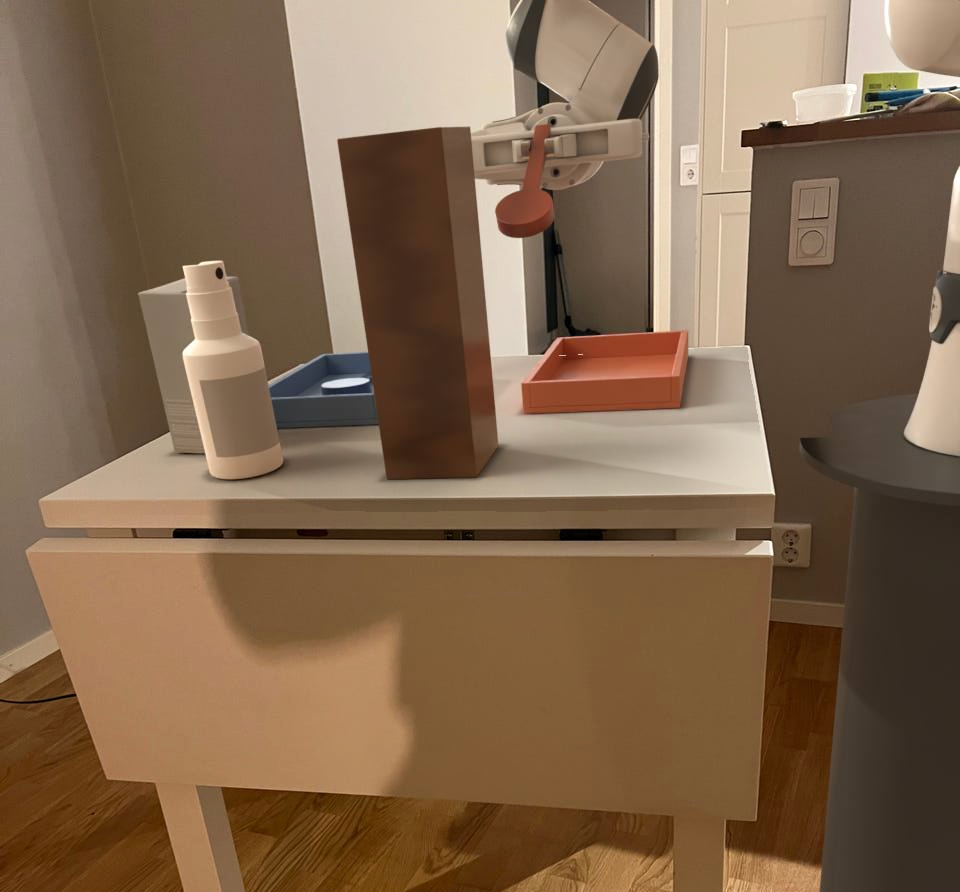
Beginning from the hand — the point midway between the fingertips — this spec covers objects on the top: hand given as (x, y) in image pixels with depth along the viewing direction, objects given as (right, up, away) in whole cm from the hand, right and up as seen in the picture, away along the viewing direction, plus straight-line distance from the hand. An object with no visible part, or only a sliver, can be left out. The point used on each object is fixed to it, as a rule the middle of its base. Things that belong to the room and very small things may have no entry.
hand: (537, 148), depth 97 cm
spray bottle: (-27, -34, -8) cm, 45 cm away
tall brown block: (-9, -34, -13) cm, 38 cm away
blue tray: (-21, -22, +14) cm, 33 cm away
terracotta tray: (+9, -22, +8) cm, 25 cm away
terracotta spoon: (0, -4, -1) cm, 4 cm away
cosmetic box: (-32, -30, +1) cm, 44 cm away
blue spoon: (-20, -19, +18) cm, 33 cm away
